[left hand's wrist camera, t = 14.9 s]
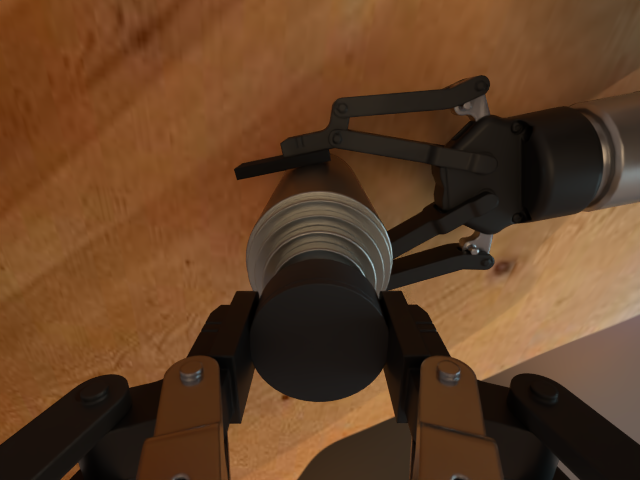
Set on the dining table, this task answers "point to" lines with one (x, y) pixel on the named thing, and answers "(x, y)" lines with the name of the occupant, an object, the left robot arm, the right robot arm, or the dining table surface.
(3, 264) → the dining table surface
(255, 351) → the cap
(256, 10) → the dining table surface
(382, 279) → the bottle
